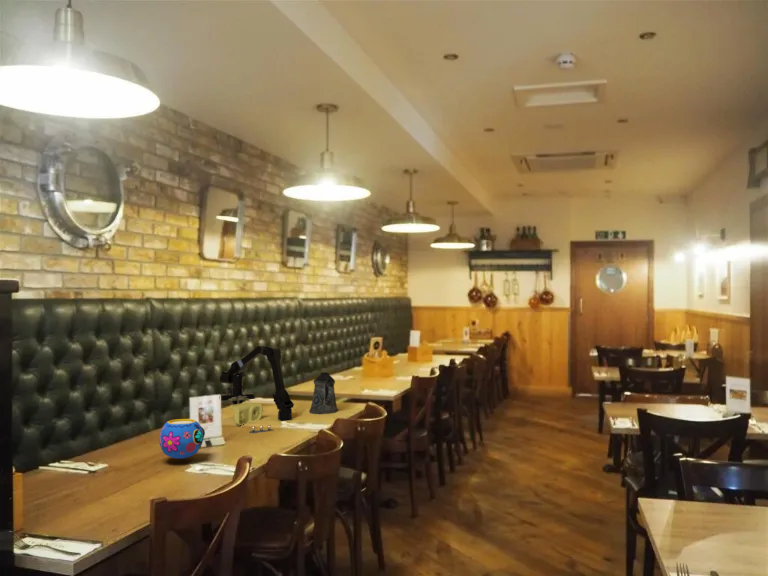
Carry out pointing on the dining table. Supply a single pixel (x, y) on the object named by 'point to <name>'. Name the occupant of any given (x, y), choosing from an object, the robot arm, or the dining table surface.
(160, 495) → the dining table surface
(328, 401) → the beer stein
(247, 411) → the plastic component
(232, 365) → the robot arm
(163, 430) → the ceramic pot
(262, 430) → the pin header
